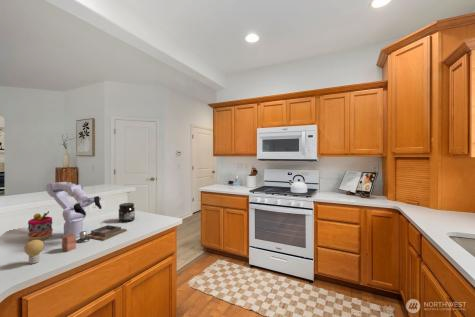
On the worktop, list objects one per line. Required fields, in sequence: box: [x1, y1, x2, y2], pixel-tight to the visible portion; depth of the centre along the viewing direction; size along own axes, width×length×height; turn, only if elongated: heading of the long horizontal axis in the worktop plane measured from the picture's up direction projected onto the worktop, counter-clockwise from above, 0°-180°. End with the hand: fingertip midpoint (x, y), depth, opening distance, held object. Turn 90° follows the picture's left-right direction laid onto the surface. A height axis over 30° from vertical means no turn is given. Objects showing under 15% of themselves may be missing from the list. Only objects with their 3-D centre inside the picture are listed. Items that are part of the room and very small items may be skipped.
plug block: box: [61, 234, 77, 253], centre depth 109 cm, size 4×4×7 cm
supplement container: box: [118, 202, 136, 224], centre depth 156 cm, size 10×10×12 cm
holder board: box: [86, 224, 128, 241], centre depth 131 cm, size 15×16×3 cm
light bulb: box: [23, 240, 45, 265], centre depth 96 cm, size 6×6×10 cm
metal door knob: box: [76, 230, 91, 244], centre depth 120 cm, size 6×6×5 cm
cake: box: [27, 210, 53, 242], centre depth 124 cm, size 10×11×15 cm
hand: (93, 210), depth 116 cm, fingers open, 7 cm apart
